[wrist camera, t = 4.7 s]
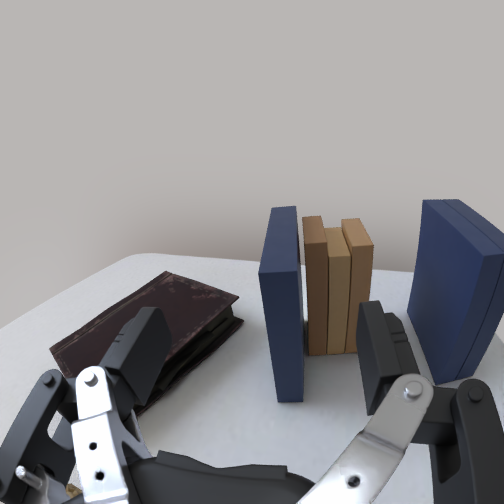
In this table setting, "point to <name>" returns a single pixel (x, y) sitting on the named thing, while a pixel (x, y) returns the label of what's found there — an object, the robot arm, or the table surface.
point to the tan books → (335, 282)
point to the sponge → (72, 490)
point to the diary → (179, 322)
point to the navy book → (284, 302)
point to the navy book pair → (456, 288)
